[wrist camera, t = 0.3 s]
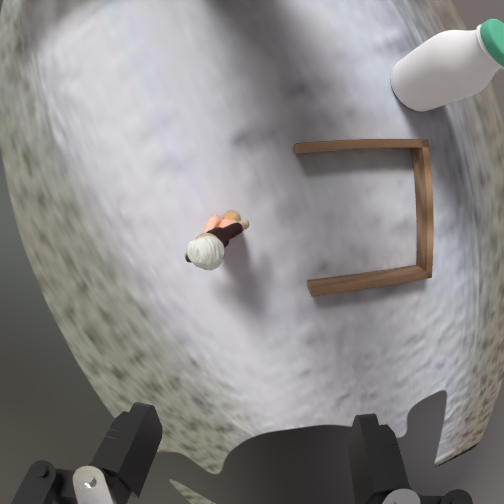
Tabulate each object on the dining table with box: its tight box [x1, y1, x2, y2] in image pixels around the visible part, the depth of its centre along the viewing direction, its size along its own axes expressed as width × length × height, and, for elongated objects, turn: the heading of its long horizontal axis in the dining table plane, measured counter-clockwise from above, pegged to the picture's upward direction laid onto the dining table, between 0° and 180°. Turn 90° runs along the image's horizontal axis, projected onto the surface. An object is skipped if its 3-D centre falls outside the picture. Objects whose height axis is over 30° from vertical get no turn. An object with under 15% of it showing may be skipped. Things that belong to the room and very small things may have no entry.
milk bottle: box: [391, 19, 504, 111], centre depth 21 cm, size 8×8×20 cm
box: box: [294, 139, 433, 296], centre depth 34 cm, size 18×17×3 cm
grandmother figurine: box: [185, 210, 249, 270], centre depth 30 cm, size 8×4×13 cm, turn 131°
